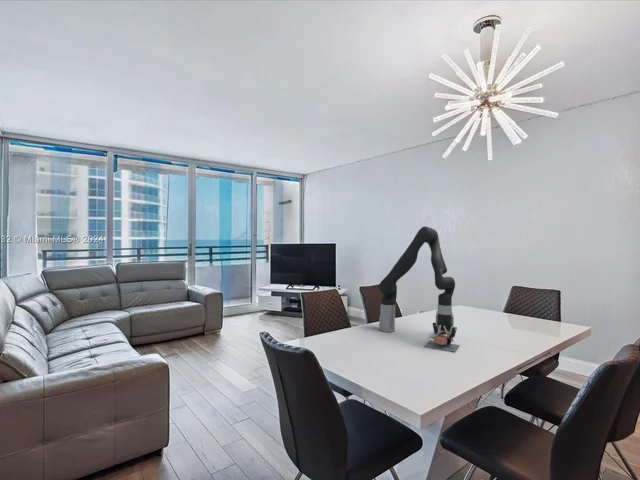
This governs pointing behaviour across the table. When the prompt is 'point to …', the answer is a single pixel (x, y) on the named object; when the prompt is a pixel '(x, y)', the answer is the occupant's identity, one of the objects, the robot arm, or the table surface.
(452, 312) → the tea box
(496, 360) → the table surface
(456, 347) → the mat
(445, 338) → the card box
